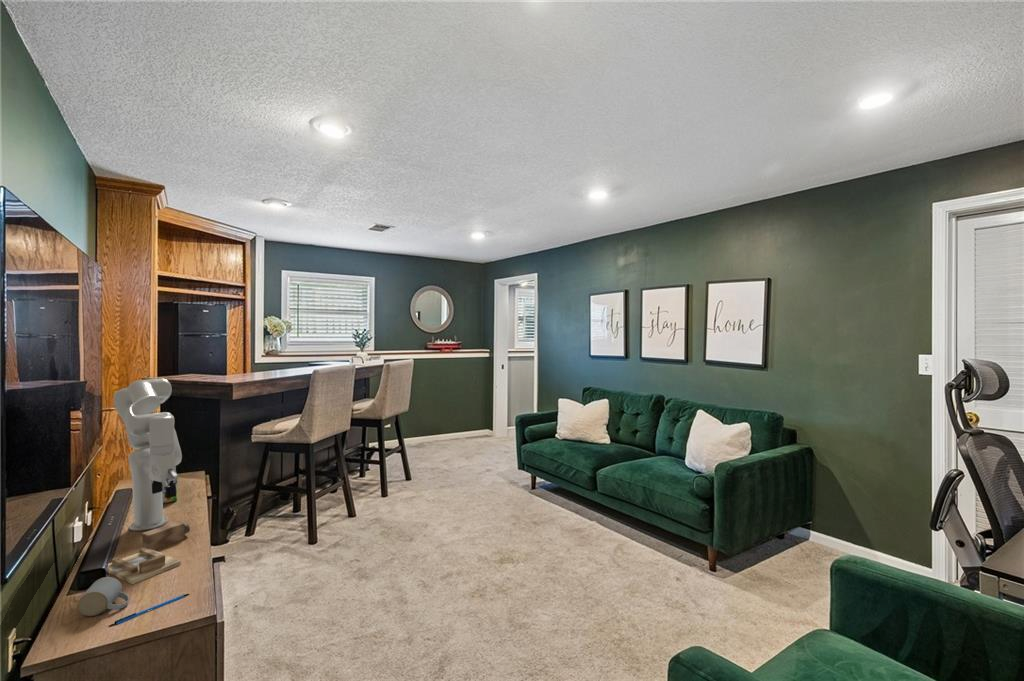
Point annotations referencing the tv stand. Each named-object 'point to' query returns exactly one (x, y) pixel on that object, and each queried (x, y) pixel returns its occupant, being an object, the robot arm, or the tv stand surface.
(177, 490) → the chalk box
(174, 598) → the pen
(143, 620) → the tv stand surface
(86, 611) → the ceramic mug
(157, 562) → the jig
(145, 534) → the brown wooden block
